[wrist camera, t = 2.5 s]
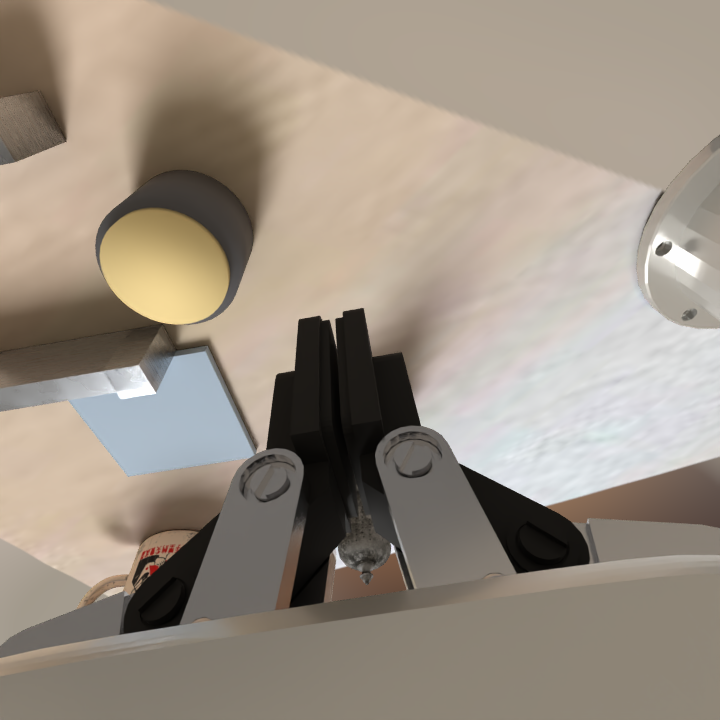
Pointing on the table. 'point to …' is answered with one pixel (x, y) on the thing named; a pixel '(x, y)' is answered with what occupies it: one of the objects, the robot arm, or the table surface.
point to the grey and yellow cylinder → (176, 248)
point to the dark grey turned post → (363, 545)
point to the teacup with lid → (142, 563)
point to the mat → (171, 420)
